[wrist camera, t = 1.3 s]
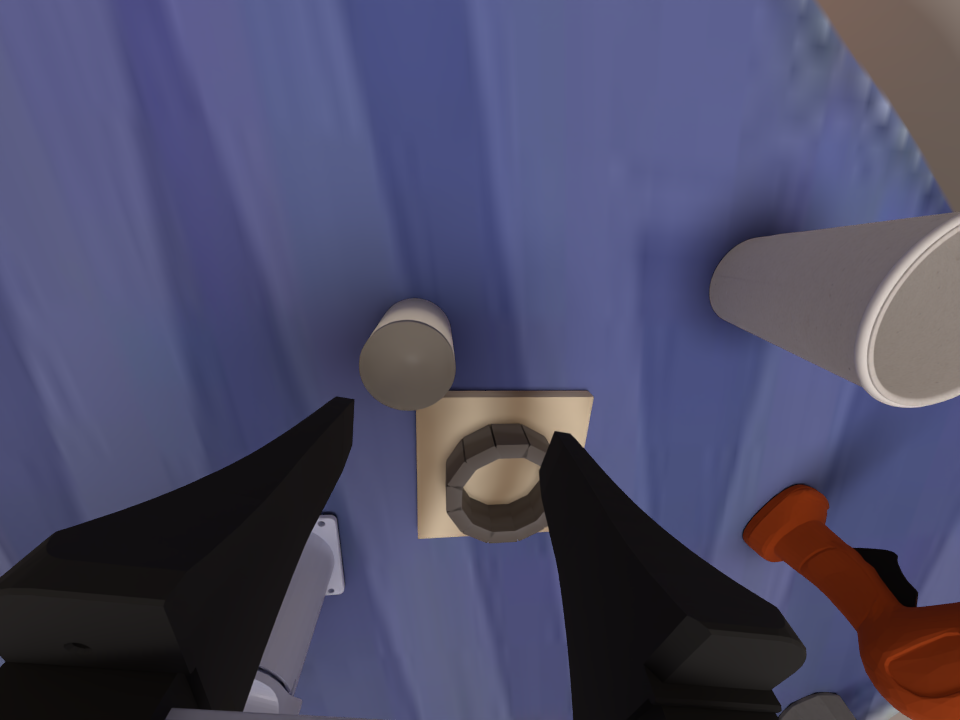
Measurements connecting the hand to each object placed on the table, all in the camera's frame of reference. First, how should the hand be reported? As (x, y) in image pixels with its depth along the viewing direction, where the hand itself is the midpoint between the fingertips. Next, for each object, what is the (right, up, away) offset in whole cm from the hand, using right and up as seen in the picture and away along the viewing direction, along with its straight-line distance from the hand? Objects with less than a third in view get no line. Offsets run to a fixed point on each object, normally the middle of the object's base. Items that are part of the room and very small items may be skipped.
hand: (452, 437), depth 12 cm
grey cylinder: (-3, +4, +9) cm, 11 cm away
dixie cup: (+19, +8, +11) cm, 23 cm away
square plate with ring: (+2, -5, +13) cm, 14 cm away
